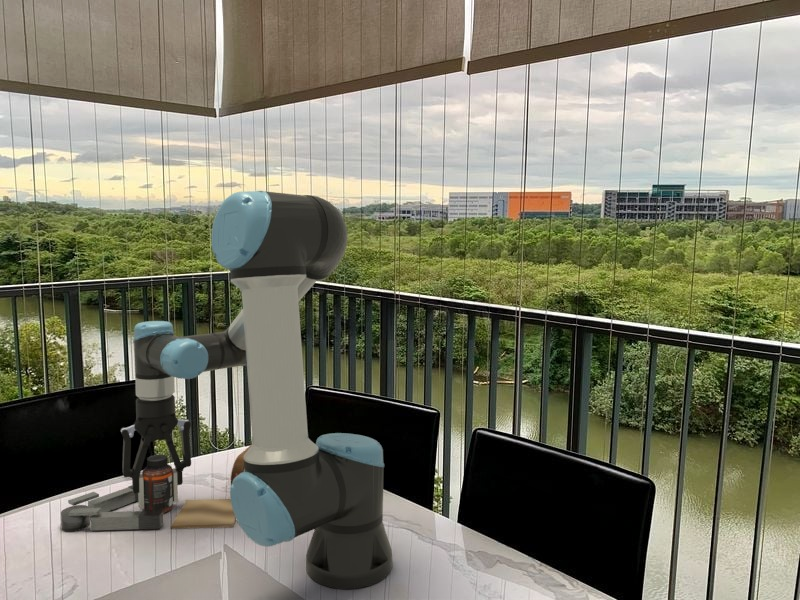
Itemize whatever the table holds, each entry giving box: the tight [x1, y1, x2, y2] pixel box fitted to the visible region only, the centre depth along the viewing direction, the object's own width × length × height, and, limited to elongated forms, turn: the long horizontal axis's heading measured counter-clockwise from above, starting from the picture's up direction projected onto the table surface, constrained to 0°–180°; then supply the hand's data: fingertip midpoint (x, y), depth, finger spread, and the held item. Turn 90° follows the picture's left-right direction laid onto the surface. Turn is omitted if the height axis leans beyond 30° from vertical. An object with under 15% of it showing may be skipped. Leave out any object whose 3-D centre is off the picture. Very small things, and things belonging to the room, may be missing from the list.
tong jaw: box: [67, 485, 139, 517], centre depth 128 cm, size 17×3×4 cm, turn 145°
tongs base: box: [60, 504, 165, 533], centre depth 120 cm, size 5×20×4 cm, turn 95°
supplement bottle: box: [141, 454, 174, 514], centre depth 127 cm, size 6×6×11 cm
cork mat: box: [170, 498, 237, 530], centre depth 126 cm, size 12×12×1 cm
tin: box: [230, 444, 252, 486], centre depth 141 cm, size 15×3×8 cm, turn 172°
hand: (158, 502), depth 128 cm, fingers closed on supplement bottle, 6 cm apart
